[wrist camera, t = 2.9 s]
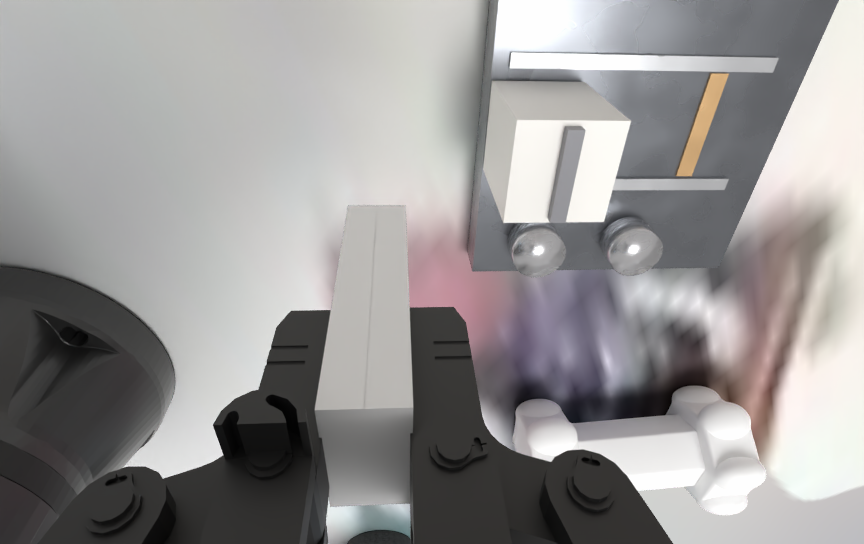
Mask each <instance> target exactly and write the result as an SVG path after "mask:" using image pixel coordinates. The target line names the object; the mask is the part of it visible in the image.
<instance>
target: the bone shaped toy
mask: <svg viewBox="0 0 864 544" xmlns="http://www.w3.org/2000/svg"><path fill="white" fill-rule="evenodd" d="M515 414H516V422H515V429H514V434H513V437H512V441H513V444H514V445H515V450H516V452H518V453H521V454H524V455H527V456H531V457H535V458H538V459H542V460H546V461H550V462H552V460H553V459H554V457H556V456H558V455H559V454H561V453H563V452H565V451H567V450H580V449H584V450H588V451H591V452H595V453H599V454H601V455H603V456H604V457H606V458H608V459H609V460H611V461H613V462H614V463H616V464H617V466H618V467H619V468H620V469H621V470H622V471H623V472H624V473H625V474H626V475H627V476H628V478H629V479H630V481H631V482H632V484H633V485H634V487H635V488H636V490H637V491H642V490H653V489H662V488H663V489H664V488H675V487H685V489H686V490H687V491H688V492H689V493H690V494H691V495H692V496H693V498H694V499H695V500H696V502H697V503H698V504H699V506H700V507H701V508H703V509H704V510H706V511H708V512H710V513H713V514H717V515H732V514H736V513H739V512H741V511H743V510H744V509H745V508H746V506H747V503H748V499H747V496H746V495H747V494H748V493H749V492H750V491H751V489H753V488H755V487H757V486H759V485H760V484H762V483H763V481H764V480H765V478H766V469H765V467H764V466H763V465H762V464H761V463H760V460H759V457H758V453H757V449H756V446H755V442H754V439H753V435H752V431H751V420H750V417H749V415H748V413H747V412H746V411H745V409H743V408H742V407H741V406H739V405H737V404H734V403H730V402H725V401H724V400H722V399H721V398H720V396H719V395H718V394H717V392H715V391H714V390H712V389H710V388H707V387H704V386H685V387H682V388H679V389H677V390H676V391H675V392H674V393H673V395H672V403H671V405H670V407H669V409H668V411H667V413H666V415H663V416H651V417H640V418H628V419H617V420H605V421H594V422H582V423H570V422H569V421H568V419H567V418H566V416H565V415H564V413H563V412H562V410H561V408H560V406H559V405H558V404H557V403H555V402H553V401H551V400H547V399H531V400H527V401H525V402H523V403H521V404H520V405H519V406H518V407H517V409H516V412H515Z"/></svg>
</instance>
